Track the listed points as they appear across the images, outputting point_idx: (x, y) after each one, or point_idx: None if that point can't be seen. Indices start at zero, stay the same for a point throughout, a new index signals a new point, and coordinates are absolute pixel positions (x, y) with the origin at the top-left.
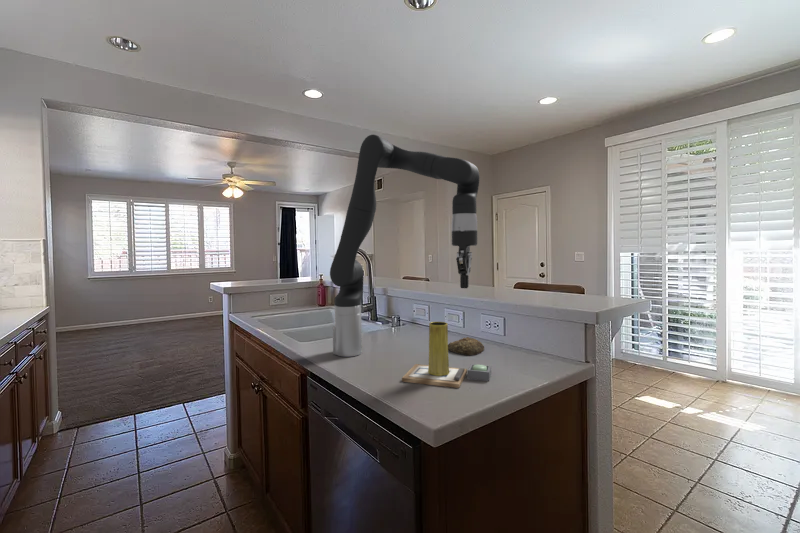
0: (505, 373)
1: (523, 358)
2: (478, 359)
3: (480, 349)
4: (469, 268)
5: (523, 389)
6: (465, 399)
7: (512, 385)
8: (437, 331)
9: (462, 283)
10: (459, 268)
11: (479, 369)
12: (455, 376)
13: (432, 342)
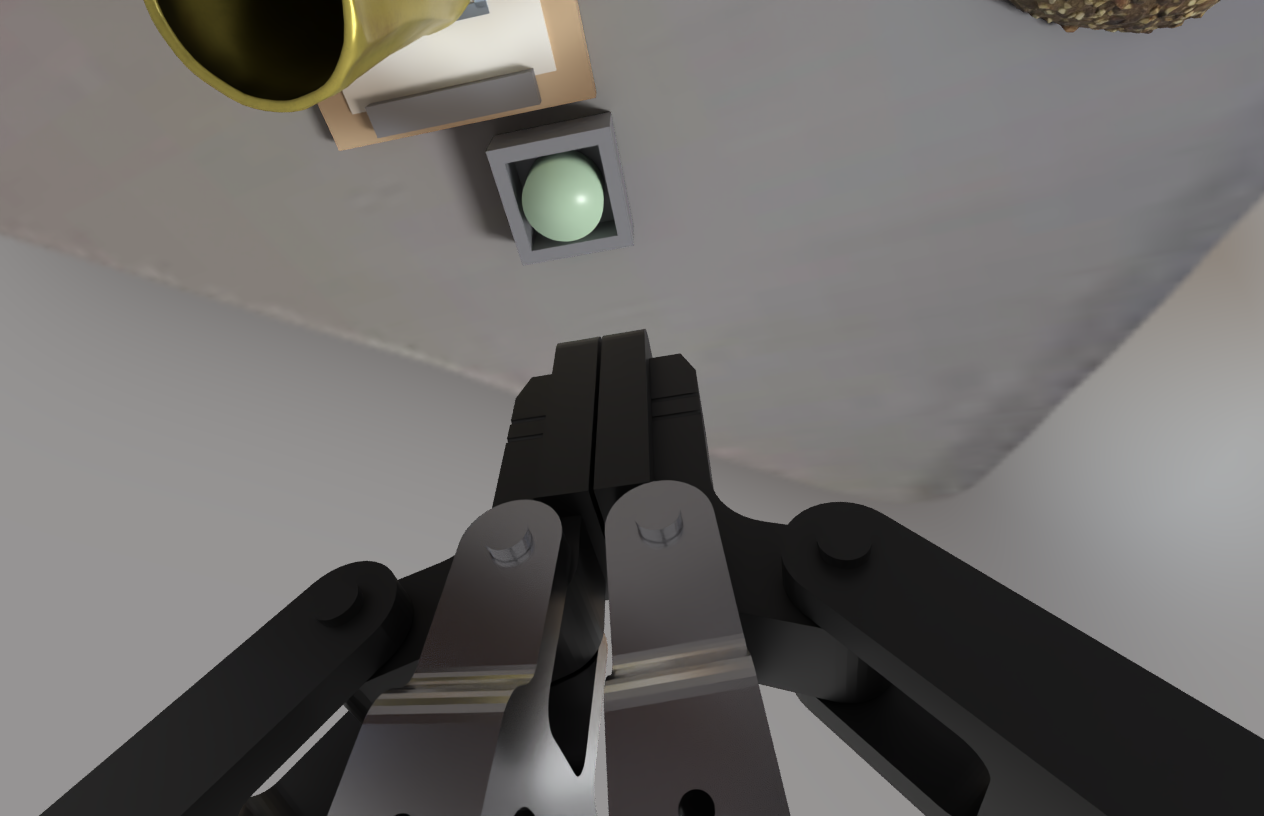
0: (680, 280)
1: (973, 301)
2: (891, 65)
3: (1085, 25)
4: (835, 730)
5: (520, 381)
6: (254, 220)
7: (538, 340)
8: (200, 21)
9: (516, 432)
10: (184, 743)
11: (525, 213)
12: (380, 109)
13: None
